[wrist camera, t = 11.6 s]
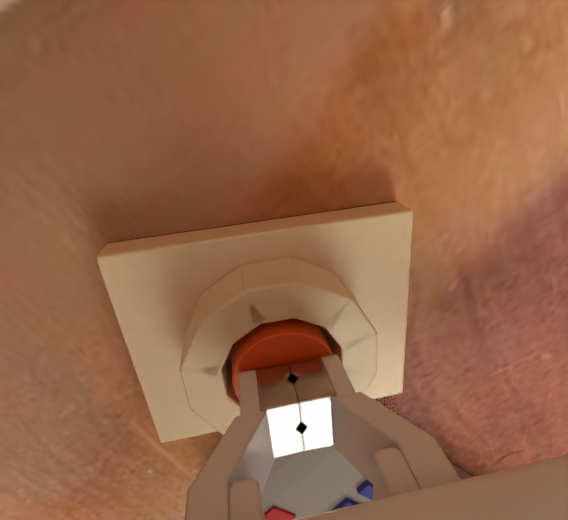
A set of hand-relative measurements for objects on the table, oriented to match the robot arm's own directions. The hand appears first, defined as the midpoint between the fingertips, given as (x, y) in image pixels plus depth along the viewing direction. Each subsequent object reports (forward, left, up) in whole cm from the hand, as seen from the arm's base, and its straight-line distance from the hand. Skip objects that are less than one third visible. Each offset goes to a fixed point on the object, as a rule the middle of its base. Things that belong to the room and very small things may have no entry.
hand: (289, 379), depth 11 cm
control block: (0, 0, -3) cm, 3 cm away
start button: (0, 0, -2) cm, 2 cm away
